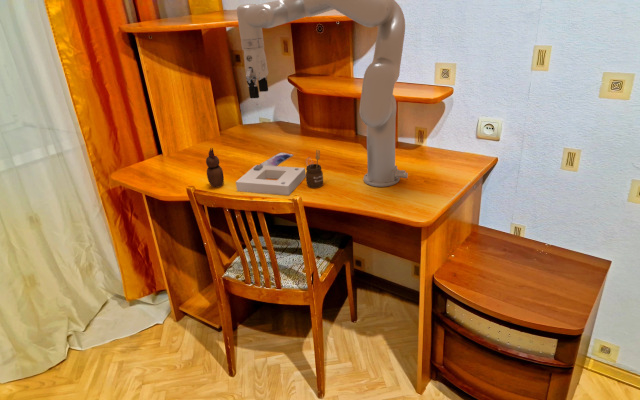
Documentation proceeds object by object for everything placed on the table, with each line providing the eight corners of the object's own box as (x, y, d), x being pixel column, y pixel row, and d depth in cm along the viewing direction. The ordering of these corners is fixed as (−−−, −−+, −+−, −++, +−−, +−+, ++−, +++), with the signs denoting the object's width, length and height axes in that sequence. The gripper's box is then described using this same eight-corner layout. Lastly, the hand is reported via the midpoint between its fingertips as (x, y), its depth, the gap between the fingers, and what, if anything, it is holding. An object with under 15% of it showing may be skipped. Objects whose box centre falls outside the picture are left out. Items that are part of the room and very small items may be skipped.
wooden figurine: (226, 187, 164) (218, 148, 158) (209, 190, 163) (202, 151, 156) (224, 180, 170) (217, 142, 164) (208, 183, 169) (200, 145, 162)
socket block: (305, 176, 168) (304, 166, 166) (289, 195, 154) (287, 183, 152) (257, 173, 174) (255, 162, 172) (237, 190, 161) (235, 179, 159)
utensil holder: (303, 186, 160) (300, 154, 155) (314, 179, 165) (311, 148, 159) (316, 189, 157) (313, 157, 152) (327, 183, 161) (325, 151, 156)
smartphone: (294, 154, 189) (273, 167, 178) (294, 156, 190) (273, 169, 178) (280, 152, 192) (258, 164, 181) (280, 153, 193) (259, 166, 182)
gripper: (254, 47, 145) (261, 100, 152) (271, 40, 160) (276, 88, 167) (232, 48, 146) (240, 101, 154) (251, 41, 161) (257, 89, 169)
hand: (259, 94), depth 161 cm, fingers open, 9 cm apart
